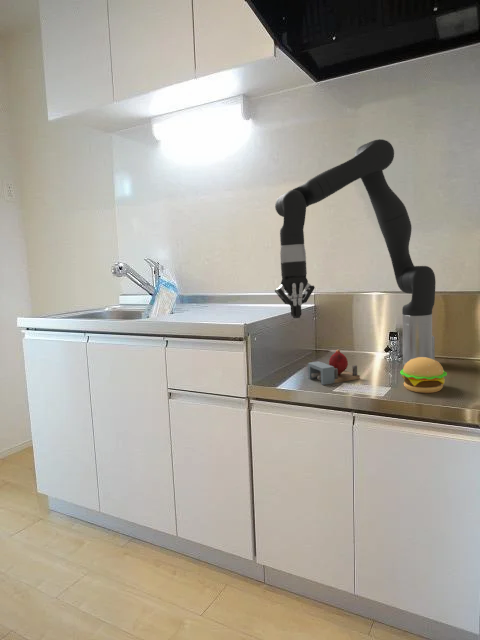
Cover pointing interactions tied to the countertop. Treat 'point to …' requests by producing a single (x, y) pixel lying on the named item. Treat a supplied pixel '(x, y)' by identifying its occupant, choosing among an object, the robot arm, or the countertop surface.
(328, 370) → the housing
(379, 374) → the countertop surface
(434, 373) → the hamburger
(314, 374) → the pin seat
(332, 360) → the onion
